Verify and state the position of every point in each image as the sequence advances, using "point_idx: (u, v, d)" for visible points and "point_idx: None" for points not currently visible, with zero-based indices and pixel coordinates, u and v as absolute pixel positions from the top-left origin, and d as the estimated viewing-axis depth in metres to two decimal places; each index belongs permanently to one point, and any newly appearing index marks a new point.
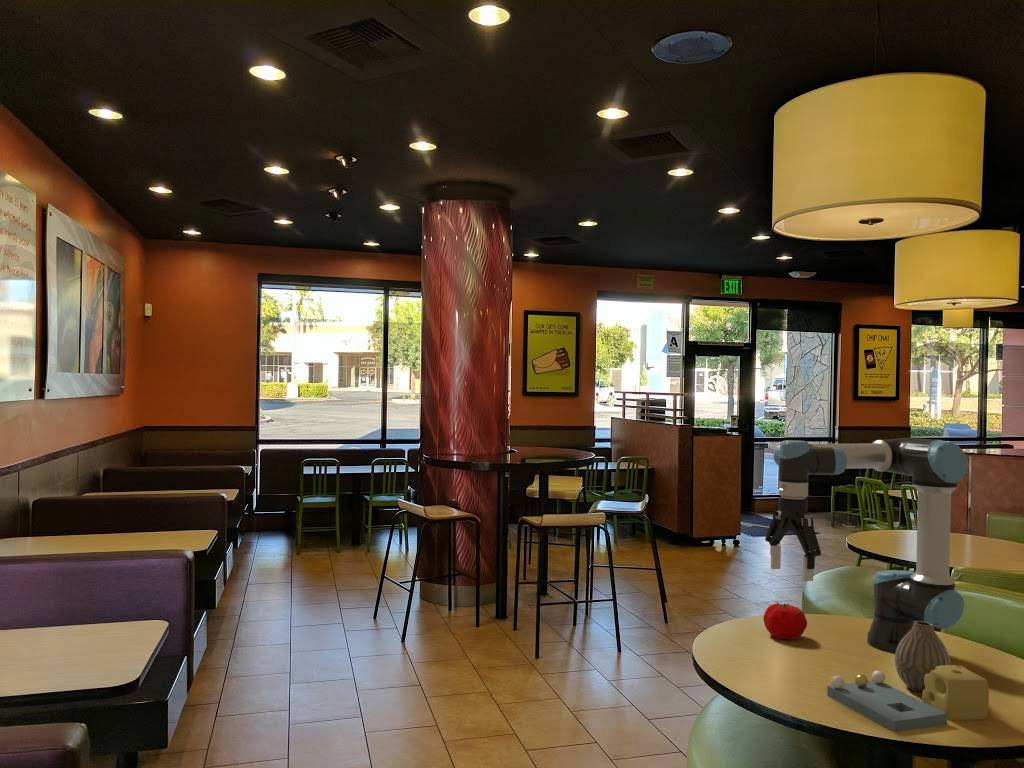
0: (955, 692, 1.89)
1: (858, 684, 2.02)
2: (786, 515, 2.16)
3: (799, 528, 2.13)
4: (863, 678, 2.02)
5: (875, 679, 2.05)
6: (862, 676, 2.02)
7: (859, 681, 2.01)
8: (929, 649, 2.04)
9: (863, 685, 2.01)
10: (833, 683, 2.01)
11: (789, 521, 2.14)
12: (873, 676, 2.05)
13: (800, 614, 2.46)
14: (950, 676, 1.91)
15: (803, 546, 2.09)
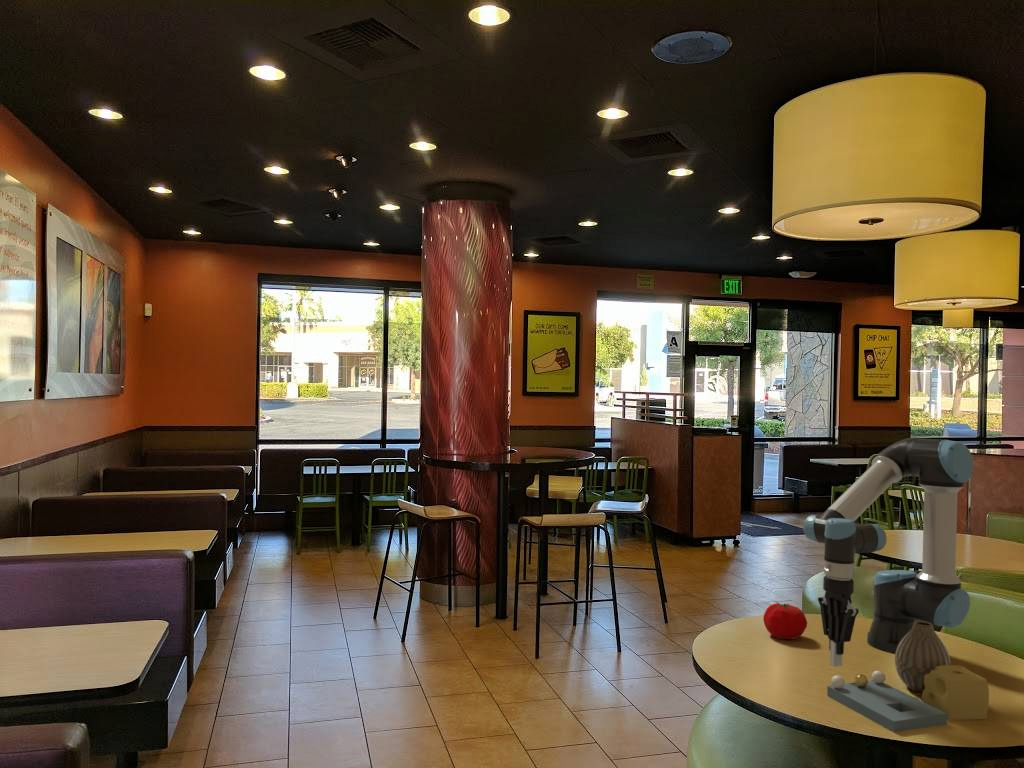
0: (955, 692, 1.89)
1: (858, 684, 2.02)
2: None
3: None
4: (863, 678, 2.02)
5: (875, 679, 2.05)
6: (862, 676, 2.02)
7: (859, 681, 2.01)
8: (929, 649, 2.04)
9: (863, 685, 2.01)
10: (833, 683, 2.01)
11: (835, 602, 2.09)
12: (873, 676, 2.05)
13: (800, 614, 2.46)
14: (950, 676, 1.91)
15: (836, 631, 2.10)
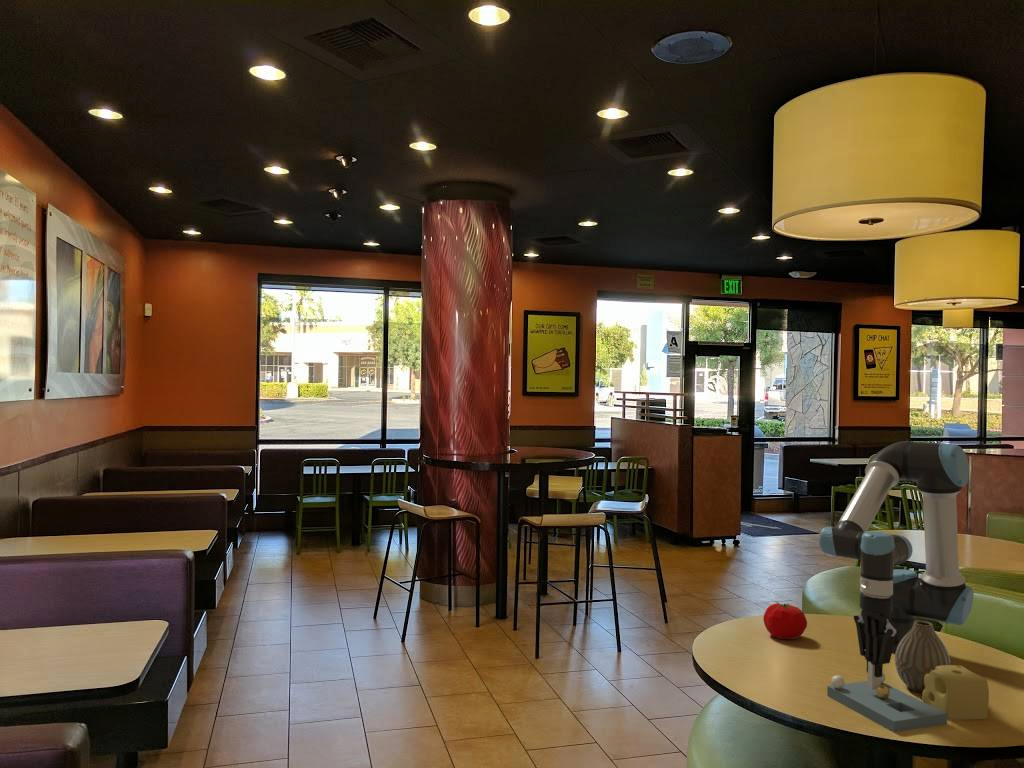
0: (955, 692, 1.89)
1: (880, 690, 1.95)
2: None
3: None
4: (878, 686, 1.97)
5: None
6: None
7: (877, 688, 1.96)
8: (929, 649, 2.04)
9: (882, 687, 1.95)
10: (833, 683, 2.01)
11: (873, 621, 1.96)
12: None
13: (800, 614, 2.46)
14: (950, 676, 1.91)
15: (874, 652, 1.97)
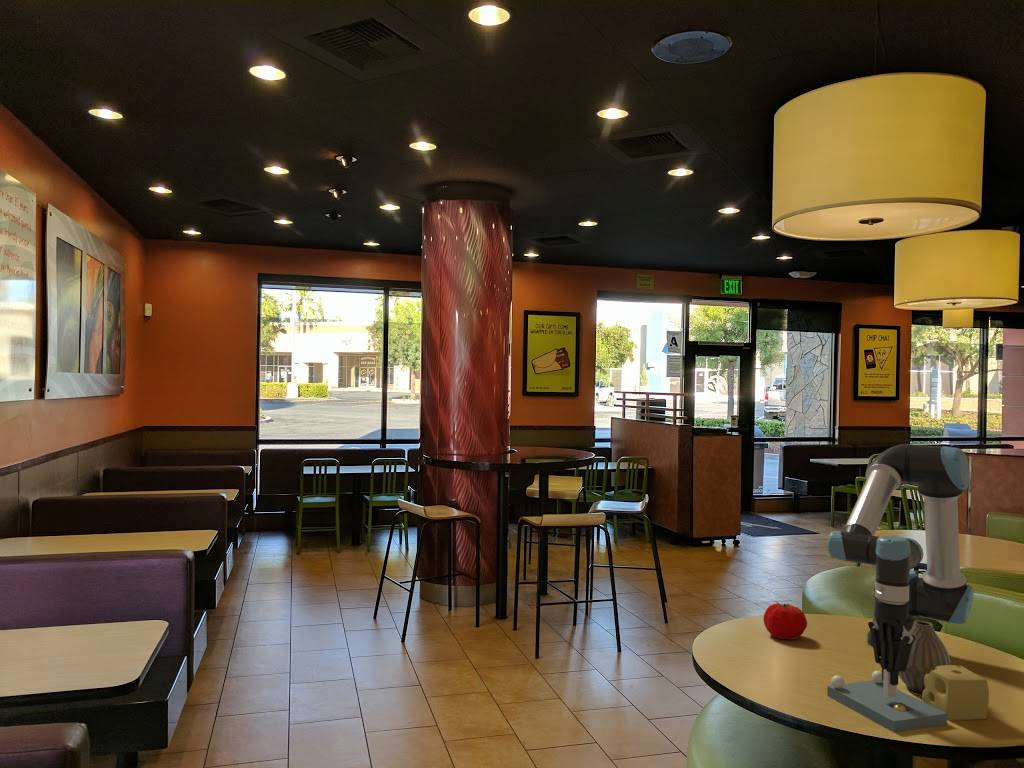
0: (955, 692, 1.89)
1: None
2: None
3: None
4: None
5: (875, 679, 2.05)
6: None
7: None
8: (929, 649, 2.04)
9: None
10: (833, 683, 2.01)
11: (888, 628, 1.92)
12: (873, 676, 2.05)
13: (800, 614, 2.46)
14: (950, 676, 1.91)
15: (890, 659, 1.92)
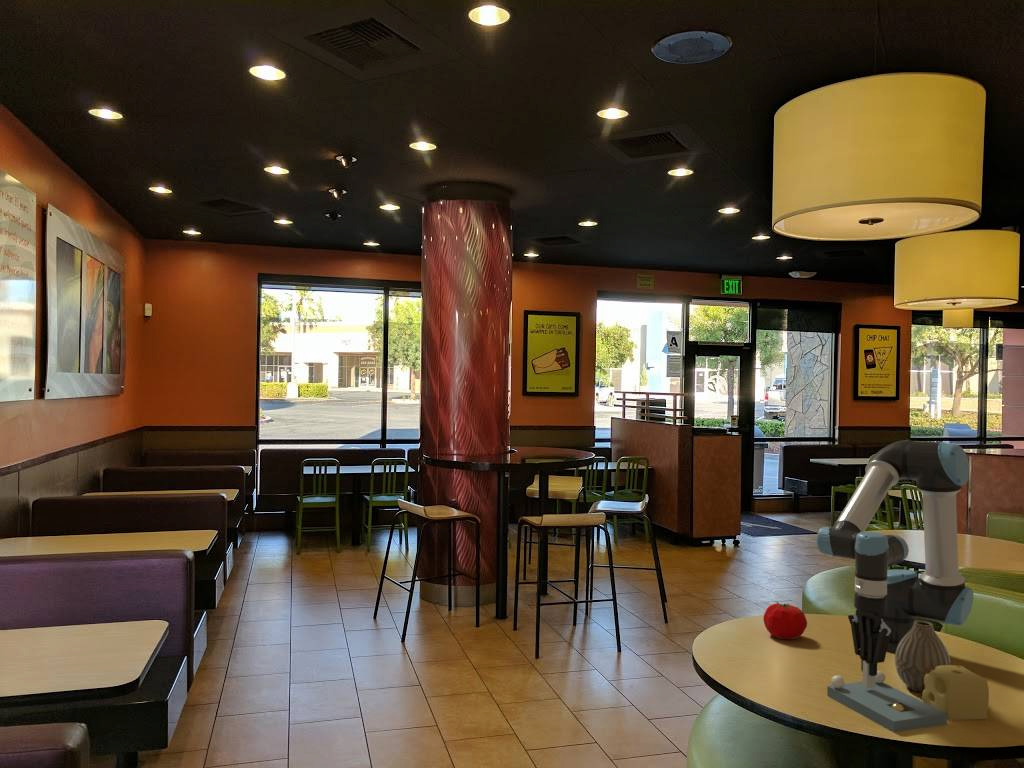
0: (955, 692, 1.89)
1: None
2: None
3: None
4: None
5: (875, 679, 2.05)
6: None
7: None
8: (929, 649, 2.04)
9: None
10: (833, 683, 2.01)
11: (867, 621, 1.99)
12: None
13: (800, 614, 2.46)
14: (950, 676, 1.91)
15: (869, 651, 1.99)
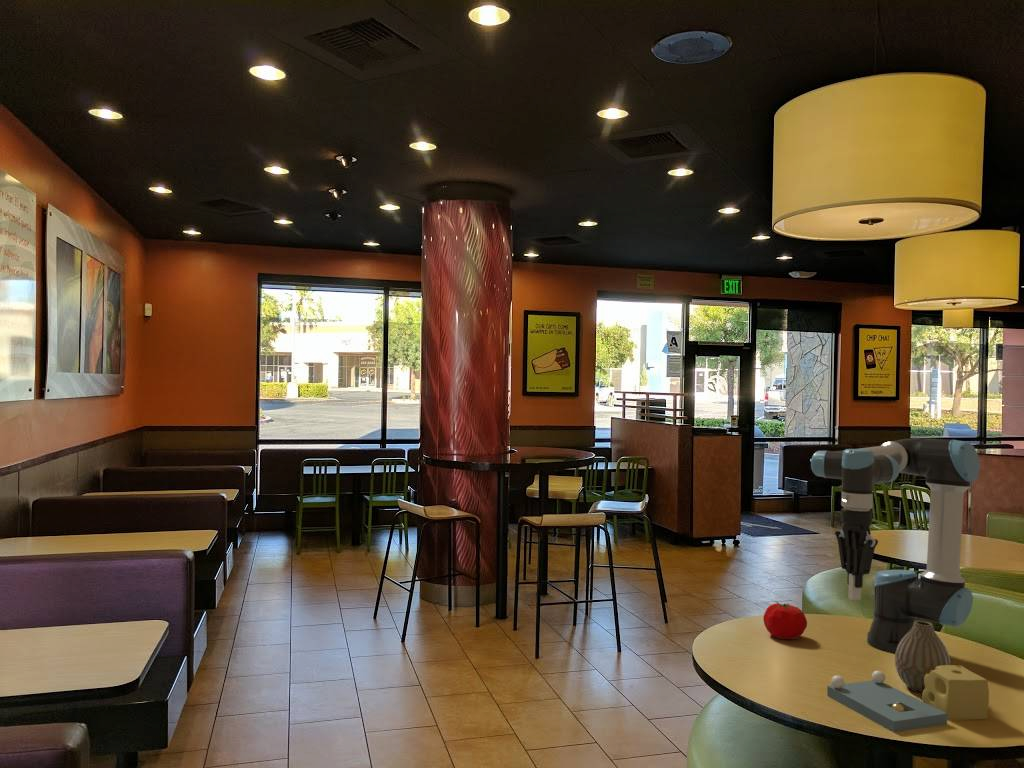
0: (955, 692, 1.89)
1: None
2: None
3: None
4: None
5: (875, 679, 2.05)
6: None
7: None
8: (929, 649, 2.04)
9: None
10: (833, 683, 2.01)
11: (853, 534, 2.04)
12: (873, 676, 2.05)
13: (800, 614, 2.46)
14: (950, 676, 1.91)
15: (854, 563, 2.04)
